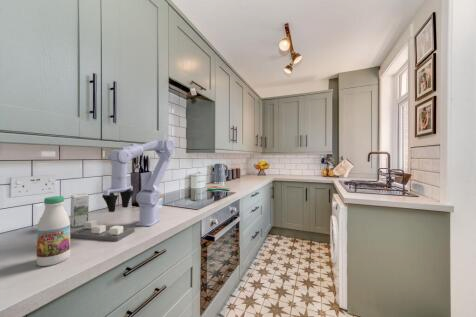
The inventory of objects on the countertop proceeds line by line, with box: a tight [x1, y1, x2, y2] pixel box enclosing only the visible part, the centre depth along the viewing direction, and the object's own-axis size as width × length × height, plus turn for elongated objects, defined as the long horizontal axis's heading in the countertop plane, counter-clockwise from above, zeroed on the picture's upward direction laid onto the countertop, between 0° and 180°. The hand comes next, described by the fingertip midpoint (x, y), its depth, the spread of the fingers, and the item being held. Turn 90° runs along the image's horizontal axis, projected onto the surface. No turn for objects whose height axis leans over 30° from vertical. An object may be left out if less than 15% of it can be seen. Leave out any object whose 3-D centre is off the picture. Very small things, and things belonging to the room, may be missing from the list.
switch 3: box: [110, 225, 124, 235], centre depth 81 cm, size 3×4×2 cm
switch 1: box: [83, 219, 98, 229], centre depth 87 cm, size 3×4×2 cm
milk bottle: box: [36, 195, 71, 267], centre depth 63 cm, size 8×8×20 cm
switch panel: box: [70, 225, 136, 242], centre depth 84 cm, size 10×22×2 cm, turn 81°
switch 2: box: [92, 223, 107, 234], centre depth 82 cm, size 3×4×2 cm
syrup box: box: [70, 193, 90, 229], centre depth 95 cm, size 6×6×14 cm
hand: (118, 209), depth 84 cm, fingers open, 7 cm apart
